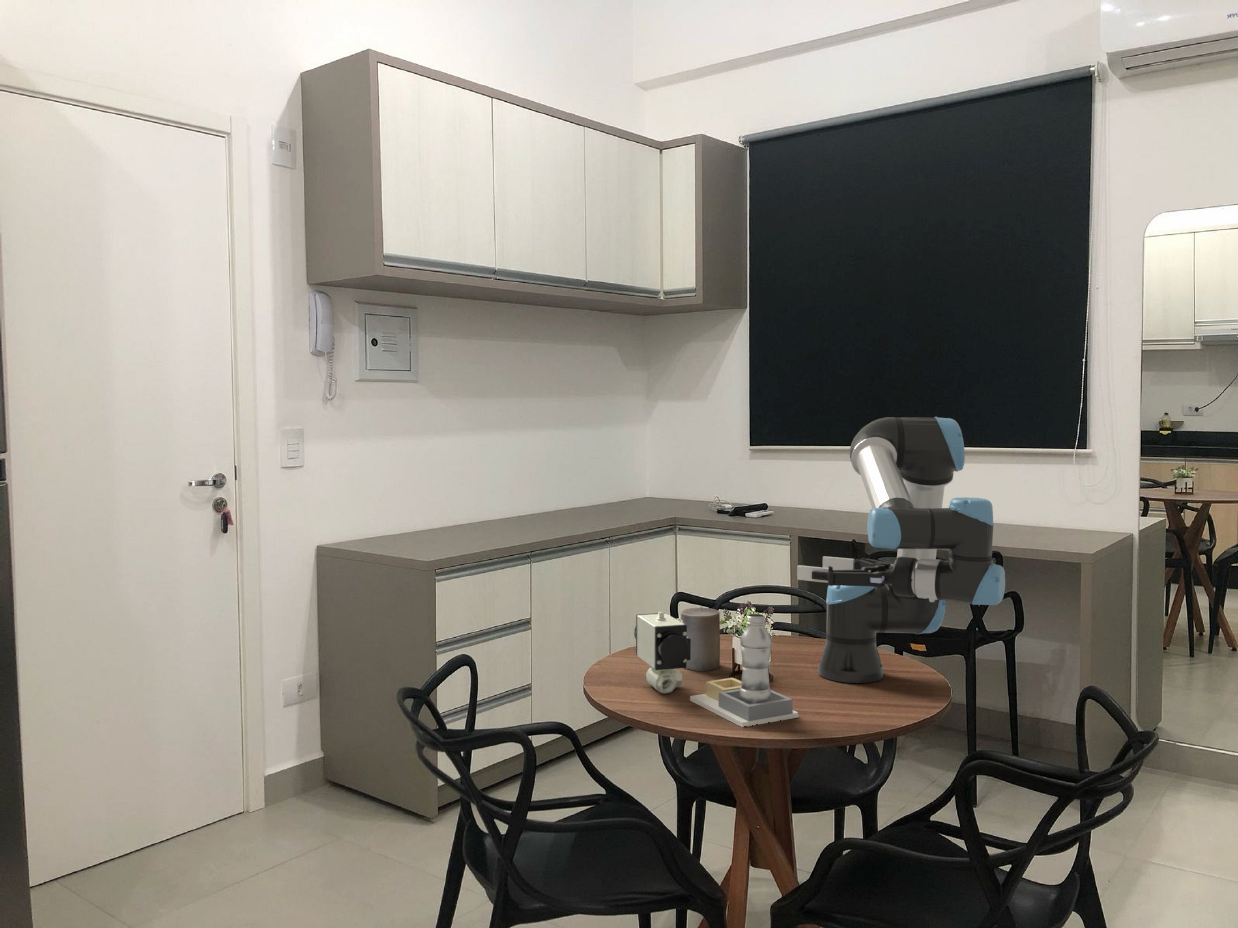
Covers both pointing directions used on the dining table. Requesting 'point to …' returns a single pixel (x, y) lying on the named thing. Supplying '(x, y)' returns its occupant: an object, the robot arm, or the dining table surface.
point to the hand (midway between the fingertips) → (810, 567)
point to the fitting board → (743, 704)
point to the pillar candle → (703, 638)
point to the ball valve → (662, 649)
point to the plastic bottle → (755, 661)
